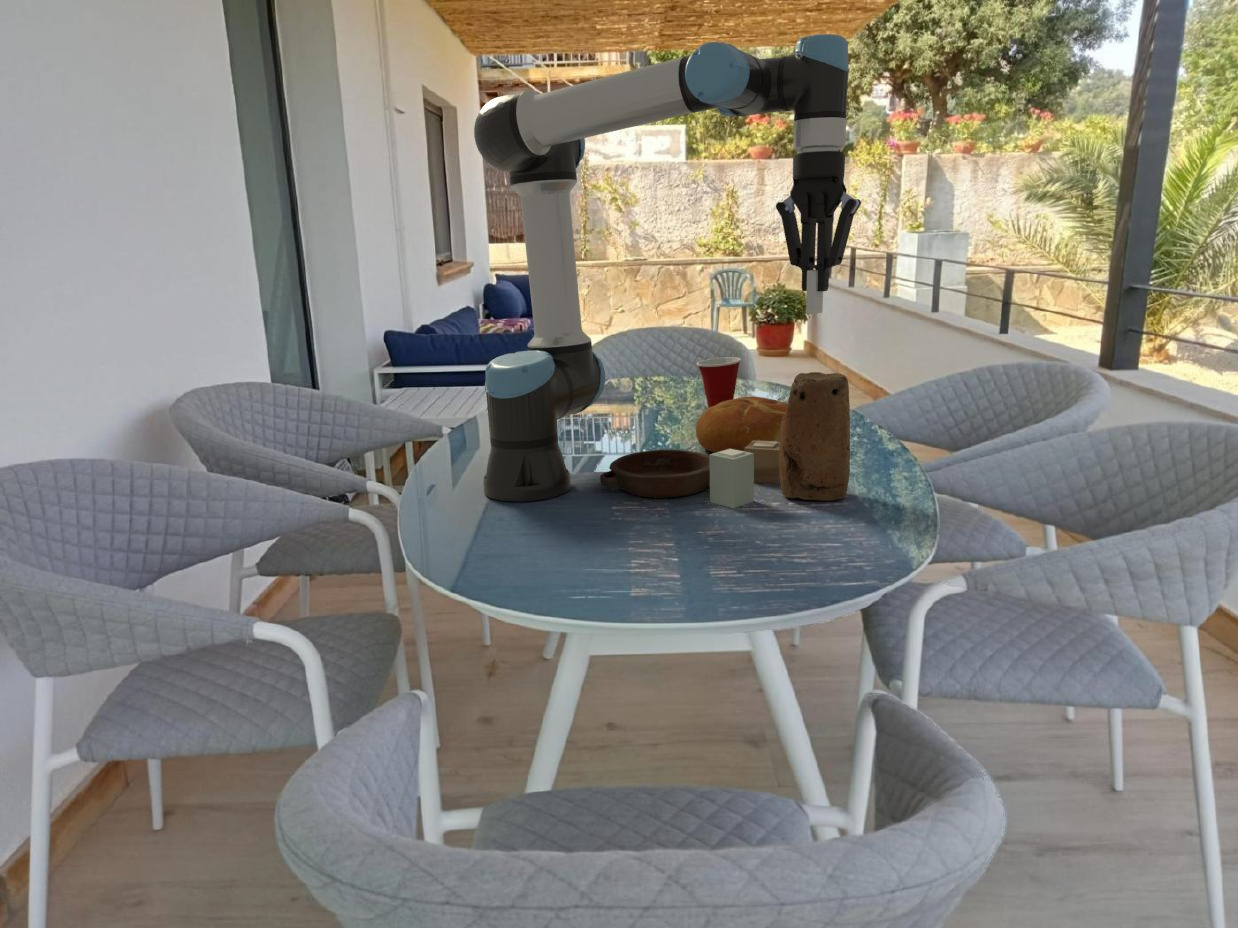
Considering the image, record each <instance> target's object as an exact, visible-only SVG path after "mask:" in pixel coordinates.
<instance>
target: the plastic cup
mask: <svg viewBox="0 0 1238 928" xmlns="http://www.w3.org/2000/svg"><path fill="white" fill-rule="evenodd" d="M741 361H742V358H741V357H736V356H725V357H723V356H722V357H714V358H709V359H704V360H700V361H698V362H696V366H697V367H698V369H699V371H700V375H701V378H702V379H701V380H702V384H703V389H704V395H705V397H706V405H707V407H708V408H709V407H712V406H715V405H717V404H719V403H721V402H724V401H727V400H732V399H735V397H734V396H735V392H736V387H737V386H736V385H737V379H738V372H739V368H740V362H741ZM708 408H707V409H708Z"/></svg>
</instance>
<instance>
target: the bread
mask: <svg viewBox="0 0 1238 928" xmlns="http://www.w3.org/2000/svg"><path fill="white" fill-rule="evenodd" d="M787 404H788V402H786V401H785V402H784V401H779V400H776V399H773V398H767V397H761V396H742V397H737V398H733V399H732V400H727V401H724V402H721V403H719V404H717V405H715V406H712V407H709V408H706V409H705V410H704V411H703V412H702V414H701V415H700V416H699V418H698V420H697V421H696V425H695V437H696V439H697V441H698V443H699V445H700V446H701V447H702V448H703V449H705V450H706V451H708V452H710V453H712V454H713V453H716V452H720V451H723V450H727V449H735V450H740V451H744V448H745V447H746V446H747V445H748V444H749V443H750V442H752V441H753V440H756V441H775V442H780V430H781V421H782V418H783V416H784V413H785V412H786V409H787Z"/></svg>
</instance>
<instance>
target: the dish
mask: <svg viewBox="0 0 1238 928" xmlns="http://www.w3.org/2000/svg"><path fill="white" fill-rule="evenodd" d="M599 480H600V483H601V485H602V486H603V487H605V488H606V487H607V488H617V489H621V490H624V492H627V493H629V494H631V495H633V496H635V495H636V496H639V497H645V498H652V497H656V498H657V499H664V498H665V497H666V498H667V497H670V498H678V497H680V498H681V497H685V496H690V495H693V494H697V493H699V492H701V491H704V490H705V489H707V488H708V487H710V461H709V455H708V454H706V453H701V452H697V451H690V450H683V449H651V450H645V451H637V452H631V453H629V454H625V455H622V456H620V457H618V458H617V459H615V460H613V461H612V462H611V463H610V465H609V471H605V472H603V473H601V474H600V475H599ZM666 498H665V499H666ZM667 499H668V498H667Z"/></svg>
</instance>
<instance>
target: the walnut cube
mask: <svg viewBox="0 0 1238 928" xmlns="http://www.w3.org/2000/svg"><path fill="white" fill-rule="evenodd" d="M744 451H745V452H750V453H754V483H763V484H764V483H766V484H779V483H780V442H775V441H756V440H753V441H752V442H750V443H749V444H748V445H747V446H746V447H745V448H744Z"/></svg>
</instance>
